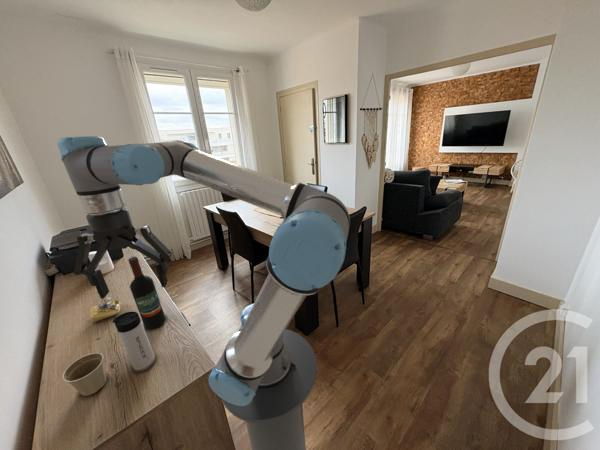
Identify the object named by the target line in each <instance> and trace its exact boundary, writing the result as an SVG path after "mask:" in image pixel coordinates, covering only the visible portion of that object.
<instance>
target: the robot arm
mask: <svg viewBox="0 0 600 450" xmlns="http://www.w3.org/2000/svg"><path fill="white" fill-rule="evenodd" d="M56 143H57V147H58V151H59V153H60V156H61V157H60V159H61V162H62V163H63V166H64V168H65V170H66V172H67V175H68V177H69V179H70V181H71V184H72V186H73V188H74V191H75V193H76V196H77V199H78V201H79V203H80V206H81V208H82V211H83V212H84V214H86V216H85V218H86V221H87V224H88V225H89V228H90V230H91V231H92V233H89V232H85V231H84V232H83V233H81V234H80V235H78V236H77V237H76V240H77V244H78V249H77V255H76V260H75V265H74V269H73V274H74V275H76V276H79V275H84V276H86V277H87V281H88V282H89V284H90V286H91V287H95V289H96V291H97V294H98V295H99V298H100V300H102V299H105V298H106V295H107V296H108V294H109V293H110V289H109V287H108V284H107V282H106V280H105V277H104V274H102V272H101V270H96V271H95V269H96V268H97V266H98V264H99V263H100V261H101V260H102V258H103V256H104V255H105V253H106V251H108V250H109V251H116V250H124V249H127V248H130V249H131V250H135V251H137V252H139V253H140V254H142V255H144V256H145V257H147V258H149V260H152V261H153V262H155V264H154V267H155V271H156V274H157V277H158V280H159V283H160V286H161V288H165V287H167V284H168V277H167V274H168V271H169V268H168V264H167V262H168V261H170V260H171V258H172V255H173V252H172V251H171V250H170V249H169V248H168V247H167V246H166V245H165V243H163V242H162V241H161V240H160V239H159V238H158V237H157V236H156V235H155V234H154V233H153V232H152V229H151V227H150V226H149V225H148V224H144V225H142V226H140V227H135V226H134V225H133V221H132V217H131V214H130V212H129V209H128V208H127V207H126V205H127V202H126V200H125V197H124V194H123V192H122V189H121V185H127V186H128V185H129V186H130V185H131V186H134V185H135V186H143V185H153V184H155V183H157V182H159V181H160V180H161V179H162V178H167V177H170V176H178V177H181V178H184V179H186V180H188V181H192V182H195V183H197V184H200V185H201V186H205V187H207V188H210V189H211V190H214V191H217V192H220V193H222V194H224V195H227V196H230V197H232V198H235V199H238V200H240V201H242V202H245V203H248V204H249V205H253V206H255V207H258V208H260V209H262V210H266V211H268V212H270V213H273V214H275V215H278V216H280V217H282V219H283V221H282V222H281V223H280V224H279V225H278V227H277V228H276V230H274V233H273V235H272V238H271V241H270V244H269V249H268V256H267V258H266V262H265V263H266V264H265V265H266V271H267V272H268V275H267V276H266V279H265V280H264V283H263V285H262V286H261V289H260V291H259V293H258V294H257V297H256V298H255V301H254V303H252V304H251V303H250V304H249V305H247V306H246V307H245V308H243V310H242V311H241V313H240V318H239V320H240V323H241V325H240V327H239V328H238V330H237V332H235V333H234V334H233V335H232V336H231V337H229V339H228V341H227V344H226V346H225V348H224V350H223V352H222V354H221V356H220V358H219V359H218V361H217V363H216V364H215V366H214V367H213V368H212V369H211V372H210V373H209V375H208V379H207V380H208V385H209V387H210V389H211V390H212V391H213V393H214V394H215V395H217V396H218V397H219V398H220V399H221V398H222V399H223V400H225V401H227V402H229V403H231V404H234V405H238V406H245V405H248V404H249V403H250V402H251V401H252V399H253V397H254V396H255V394H256V393H255V392H256V390H257V388H270V387H273V386H276V385H278V384H279V383H281V382H282V381H283V380H284V379H285V378H286V377H287V375H288V373H289V371H290V368H291V366H292V367H294V368H295V366H296V365H295V364H293V363H291V358H290V353H289V351H288V350H287V348H286V346H285V345H284V343H283V333H284V331H285V329H287V328H288V327H289V325H290V323H291V321H292V320H293V319H294V317H295V315H296V314H297V312H298V310H299V309H300V307H301V306H302V304H303V302H304V301H305V299H306V298H307V296H313V295H315V294H317V293H318V292H319V291H320V290H322V288H323V287H325V286H326V285H328V284H329V283H331V282H332V281H333V280H334V279H335V277H336V276H337V274H338V273H339V272H340V270H341V268H342V267H343V264H344V262H345V258H346V252H347V241H348V236H349V232H350V227H351V218H350V213H349V210H348V209H347V207H346V205H345V204H344V203H343V202H342V201H341V200H340V199H339V198H338V197H337V196H335V195H334V194H331V193H329V192H327V191H324V190H321V189H318V188H316V187H314V186H310V185H307V184H305V183H302V182H298V183H295V184H291V183H289V182H286V181H283V180H281V179H278V178H275V177H272V176H270V175H267V174H264V173H261V172H259V171H255V170H254V169H250V168H247V167H245V166H243V165H239V164H237V163H234V162H232V161H228V160H227V159H223V158H220V157H218V156H215V155H212V154H209V153H207V152H204V151H201V150H200V149H199V148H198V147H197V146H196V145H195V144H194V143H193V142H191V141H187V140H179V139H178V140H171V141H160V142H146V143H145V142H144V143H132V144H131V143H127V144H116V145H107V143H106V141H105V138H104V137H102V136H100V135H91V136H90V135H89V136H88V135H87V136H85V135H83V136H71V137H70V136H69V137H68V136H67V137H66V136H65V137H60V138H59V139H58V140H57V142H56ZM137 234H138V235H139V236H140V237H142V238H143V239H144V240H145V241H146V242H147V243H148V244H149V245H148V244H147V243H145V242H144V241H142V239H140V238H139V237H137ZM93 241H95V242H96V243H98V244H99V246H98V248H97V250H96V251H97V252H96V254H95V256H94V257H93V259H92V261H91V262H89V264H88V261H89V257H88V256H89V253H90V252H91V246H92V242H93Z"/></svg>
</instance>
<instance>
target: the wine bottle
mask: <svg viewBox="0 0 600 450" xmlns="http://www.w3.org/2000/svg"><path fill="white" fill-rule="evenodd" d="M139 261H140V260H139V258H138V256H132V257H130V258H128V263H129V266H130V269H131V271H132V274H133V277H134V278H133V280H132V281H131V282H130V284H129V289H130V292H131V294H132V297H133V301H134V302H135V305H136V307H137V310H138V312H139V313H138V314H139V317H140V319H141V322H142V324H143V327H144V329H145V330H149V331H151V330H156V329H157V328H160V327H161V326H163V324H164V323H165V322H166V320H167V319H166V316H165V312H164V309H163V307H162V303H161V300H160V297H159V294H158V291H157V288H156V285H155V283H154V280H153V278H152V277H151V276H148V275H144V273H143V270H142V267H141V264H140V262H139Z"/></svg>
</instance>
